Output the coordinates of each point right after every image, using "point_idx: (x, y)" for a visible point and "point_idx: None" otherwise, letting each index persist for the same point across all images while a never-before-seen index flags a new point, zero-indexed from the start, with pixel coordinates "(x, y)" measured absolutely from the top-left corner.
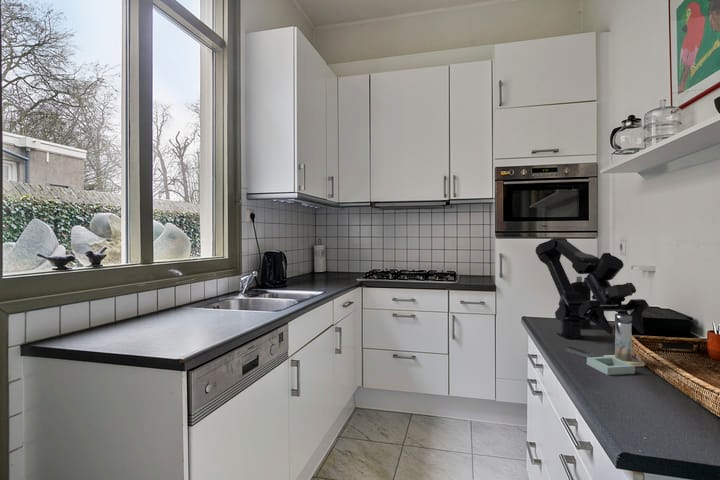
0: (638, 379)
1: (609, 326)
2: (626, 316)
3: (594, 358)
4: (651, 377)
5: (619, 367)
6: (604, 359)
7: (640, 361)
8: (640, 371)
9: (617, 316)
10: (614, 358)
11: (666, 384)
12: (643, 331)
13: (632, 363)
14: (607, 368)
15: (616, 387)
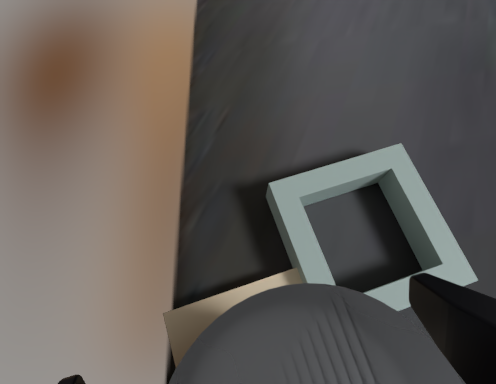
0: (278, 135)
1: (475, 306)
2: (305, 309)
3: (439, 270)
4: (215, 164)
5: (345, 160)
6: (381, 287)
7: (175, 332)
8: (227, 229)
9: (448, 377)
10: None
11: (196, 105)
12: (68, 377)
13: (236, 288)
14: (399, 144)
15: (383, 57)
